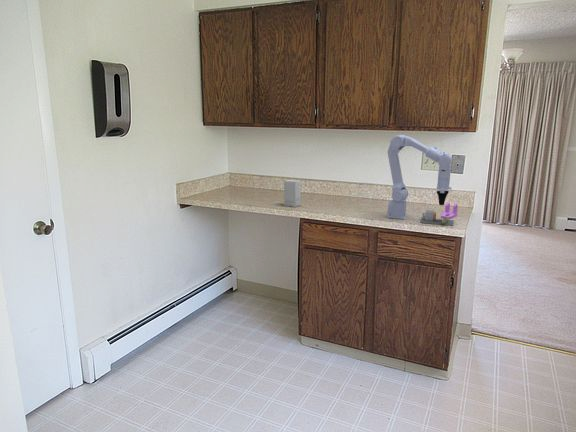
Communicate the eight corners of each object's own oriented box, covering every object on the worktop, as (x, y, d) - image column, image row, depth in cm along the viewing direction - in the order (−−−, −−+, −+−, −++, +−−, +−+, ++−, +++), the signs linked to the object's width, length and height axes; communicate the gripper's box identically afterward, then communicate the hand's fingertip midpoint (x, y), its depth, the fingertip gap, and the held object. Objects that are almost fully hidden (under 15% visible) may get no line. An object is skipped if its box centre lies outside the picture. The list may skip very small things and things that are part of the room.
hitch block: (420, 221, 229) (421, 211, 228) (421, 218, 234) (422, 209, 233) (446, 223, 224) (446, 213, 223) (446, 220, 230) (447, 211, 229)
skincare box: (300, 205, 265) (301, 180, 262) (295, 207, 260) (295, 181, 256) (289, 204, 270) (289, 179, 266) (283, 205, 264) (283, 180, 261)
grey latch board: (420, 222, 225) (420, 215, 224) (422, 218, 236) (422, 211, 235) (453, 225, 219) (453, 218, 218) (453, 220, 230) (454, 213, 229)
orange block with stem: (422, 218, 229) (422, 212, 228) (422, 216, 233) (423, 211, 233) (435, 219, 227) (436, 214, 226) (436, 217, 231) (436, 212, 230)
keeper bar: (446, 219, 226) (446, 216, 226) (448, 219, 226) (449, 216, 225) (442, 222, 219) (442, 219, 219) (444, 223, 218) (444, 220, 218)
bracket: (446, 214, 247) (447, 202, 245) (456, 215, 244) (457, 203, 242) (439, 218, 236) (440, 205, 235) (450, 219, 233) (451, 207, 232)
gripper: (451, 180, 212) (449, 208, 215) (452, 177, 226) (450, 203, 229) (436, 180, 215) (434, 207, 218) (438, 176, 228) (436, 202, 231)
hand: (441, 204), depth 223 cm, fingers closed
